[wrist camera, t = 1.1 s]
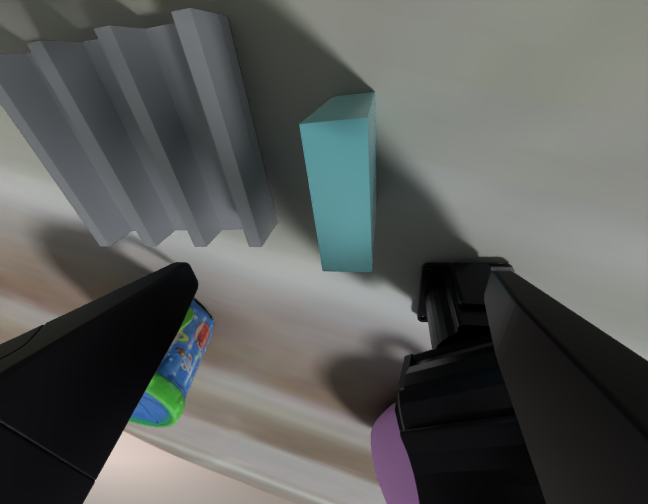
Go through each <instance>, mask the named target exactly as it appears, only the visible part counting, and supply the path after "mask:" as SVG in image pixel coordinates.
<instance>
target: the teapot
mask: <svg viewBox="0 0 648 504" xmlns="http://www.w3.org/2000/svg"><path fill="white" fill-rule="evenodd" d="M395 403H396V402H395ZM395 403H394V404H392V405H391V406H390V407H389V408H388V409H386V410H385V411H384V412H383V413H382V414H381V415H380V417H379V418H378V419H377V420H376V422H375V423H374V425H373V428H372V431H371V450H372V458H373V463H374V468H375V472H376V475H377V479H378V482H379V485H380V487H381V490H382V493H383V495H384V498H385V500H386V502H387V504H419V498H418V493H417V488H416V483H415V478H414V474H413V470H412V467H411V464H410V460H409V457H408V454H407V451H406V449H405V447H404V444H403V442H402V439H401V437H400V430H399V427H398V423H397V418H396V414H395Z"/></svg>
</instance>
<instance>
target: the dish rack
mask: <svg viewBox="0 0 648 504" xmlns="http://www.w3.org/2000/svg"><path fill="white" fill-rule="evenodd" d="M171 13H172V16H173V19H174V22H175V23H171V24H166V25H161V26H156V27H151V28H147V29H143V28H133V27H123V26H113V25H108V26H104V27H99V28H94V31H95V33H96V36H97V38H98V39H93V40H88V41H83V42H76V41H48V40H39V41H34V42H30V43H26V44H27V46H28V48H29V49H30V51H31V52H30V53H0V104H1V105H2V107H3V108H4V109H5V111H6V112H7V114H8V115H9V117H10V118H11V119H12V121H13V122H14V124H15V125H16V127H17V128H18V129H19V131H20V132H21V134H22V135H23V137H24V138H25V139H26V141H27V142H28V144H29V145H30V147H31V148H32V149H33V151H34V152H35V154H36V155H37V157H38V158H39V160H40V161H41V162H42V164H43V165H44V167H45V168H46V170H47V171H48V172H49V174H50V175H51V177H52V178H53V180H54V181H55V182H56V184H57V185H58V187H59V188H60V190H61V191H62V192H63V194H64V195H65V197H66V198H67V200H68V201H69V202H70V204H71V205H72V207H73V208H74V210H75V211H76V212H77V214H78V215H79V217H80V218H81V220H82V221H83V222H84V224H85V225H86V227H87V228H88V230H89V231H90V232H91V234H92V235H93V237H94V238H95V240H96V241H97V242H98V244H99V245H100V246H111V245H113V244H114V243H116V242H117V241H118V240H120V239H121V238H123V237H124V236H126V235H127V234H128V233H130V232H131V231H137V233H138V235H139V236H140V238H141V240H142V242H143V243H144V245H145V247H156V246H157V245H158V244H160V243H161V242H162V241H163V240H164V239H166V238H167V237H168V236H169V235H170V234H172V233H173V232H174V231H175V230H187V231H188V233H189V235H190V237H191V240H192V242H193V244H194V246H195V247H207V245H208V244H209V243H210V242H211V241H212V240H213V239H214V238H215V237H216V236H217V235H218V234H219V233H220V231H221V230H231V229H243V230H244V233H245V236H246V239H247V242H248V245H249V247H262V246H263V244H264V243H265V241H266V240H267V238H268V236H269V235H270V233H271V232H272V230H273V229H274V228H275V226H276V225H277V223H278V221H277V217H276V213H275V209H274V205H273V201H272V197H271V192H270V188H269V184H268V180H267V176H266V172H265V168H264V164H263V160H262V156H261V152H260V148H259V144H258V140H257V136H256V132H255V127H254V123H253V119H252V115H251V111H250V107H249V103H248V99H247V95H246V91H245V87H244V83H243V79H242V75H241V71H240V67H239V62H238V58H237V54H236V50H235V46H234V42H233V38H232V34H231V30H230V26H229V22H228V18H227V16H226V15H221V14H215V13H211V12H207V11H202V10H198V9H193V8H187V9H182V10H177V11H173V12H171Z"/></svg>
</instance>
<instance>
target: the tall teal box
mask: <svg viewBox="0 0 648 504" xmlns="http://www.w3.org/2000/svg"><path fill="white" fill-rule="evenodd" d="M299 126H300V132H301V138H302V145H303V151H304V157H305V164H306V170H307V176H308V182H309V189H310V195H311V201H312V207H313V214H314V220H315V226H316V232H317V239H318V245H319V251H320V257H321V264H322V270H323V271H338V272H372V266H373V251H374V236H375V221H376V206H377V186H376V120H375V92H368V93H359V94H351V95H343V96H334V97H332V98H331V99H329V100H328V101H327V102H326V103H324V104H323V105H322V106H321V107H320V108H318V109H317V110H316V111H315V112H313V113H312V114H311V115H310V116H309V117H307V118H306V119H305V120H304V121H302V122H301V123H300V124H299Z"/></svg>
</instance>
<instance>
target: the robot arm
mask: <svg viewBox="0 0 648 504" xmlns="http://www.w3.org/2000/svg"><path fill="white" fill-rule="evenodd" d="M428 268H430V270H426V269H428ZM514 271H515V270H514V269H513V267H512V265H510V264H487V263H425V264H424V265H423V266H422V270H421V281H420V291H419V301H418V311H417V318H418V320H419V321H421V322H428V325H429V332H430V338H431V345H432V350H429V351H425V352H422V353H418V354H415V355H413V354H410V355H406V356H405V359H404V363H403V368H402V372H401V377H400V382H399V386H398V391H397V396H396V403H395V414H396V418H397V423H398V427H399V430H400V437H401V439H402V442H403V444H404V447H405V449H406V451H407V454H408V457H409V460H410V464H411V467H412V470H413V474H414V478H415V483H416V488H417V493H418V498H419V504H648V361H647V360H646V359H644V358H642V357H641V356H639V355H638V354H636V353H635V352H633V351H632V350H630V349H629V348H627V347H626V346H624V345H623V344H621V343H620V342H618V341H617V340H615V339H614V338H612V337H611V336H609V335H608V334H606V333H605V332H603V331H602V330H600V329H599V328H597V327H596V326H594V325H593V324H591V323H590V322H588V321H587V320H585V319H584V318H582V317H581V316H579V315H578V314H576V313H575V312H573V311H572V310H570V309H569V308H567V307H566V306H564V305H562V304H561V303H559V302H558V301H556V300H555V299H553V298H552V297H550V296H549V295H547V294H546V293H544V292H543V291H541V290H540V289H538V288H537V287H535V286H534V285H532V284H531V283H529V282H528V281H526V280H525V279H523V278H522V277H520V276H519V275H517V274H516V273H514ZM197 289H198V280H197V278H196V276H195V274H194V272H193V270H192V268H191V266H190V265H189V264H188V263H186V262H175V263H172V264H170V265H168V266H166V267H164V268H162V269H160V270H158V271H155V272H153V273H151V274H149V275H147V276H145V277H143V278H141V279H138V280H136V281H134V282H132V283H130V284H128V285H126V286H124V287H122V288H119V289H117V290H115V291H113V292H111V293H109V294H107V295H105V296H102V297H100V298H98V299H96V300H94V301H92V302H90V303H88V304H86V305H83V306H81V307H79V308H77V309H75V310H73V311H71V312H69V313H66V314H64V315H62V316H60V317H58V318H56V319H54V320H52V321H50V322H47V323H46V324H45V325H41V326H39V327H37V328H35V329H33V330H30V331H28V332H26V333H24V334H22V335H20V336H17V337H15V338H13V339H11V340H9V341H7V342H4V343H2V344H0V504H83V502H84V500H85V499H86V497H87V495H88V493H89V492H90V490H91V488H92V486H93V485H94V483H95V480H96V479H97V477H98V475H99V473H100V471H101V470H102V468H103V466H104V464H105V462H106V461H107V459H108V457H109V455H110V453H111V452H112V450H113V448H114V446H115V445H116V443H117V441H118V439H119V437H120V436H121V434H122V432H123V430H124V428H125V427H126V425H127V423H128V421H129V419H130V418H131V416H132V414H133V412H134V411H135V409H136V407H137V405H138V403H139V402H140V400H141V398H142V396H143V394H144V393H145V391H146V389H147V387H148V385H149V384H150V382H151V380H152V378H153V376H154V375H155V373H156V371H157V369H158V368H159V366H160V364H161V362H162V360H163V359H164V357H165V355H166V353H167V351H168V350H169V348H170V346H171V344H172V342H173V341H174V339H175V337H176V335H177V333H178V332H179V330H180V328H181V325H182V323H183V321H184V319H185V317H186V314H187V312H188V310H189V308H190V305H191V303H192V301H193V298H194V296H195V294H196V292H197ZM422 316H424V317H422Z"/></svg>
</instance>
